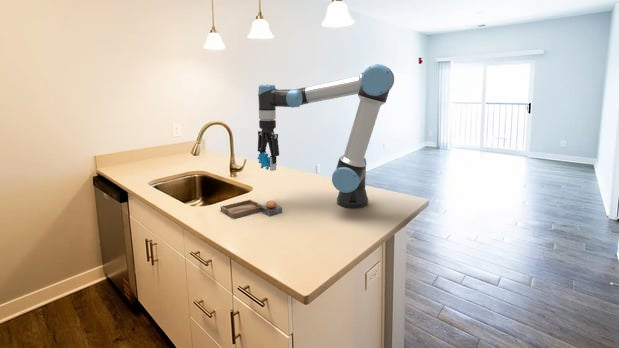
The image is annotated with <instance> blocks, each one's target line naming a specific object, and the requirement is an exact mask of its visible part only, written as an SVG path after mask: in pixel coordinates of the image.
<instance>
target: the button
mask: <svg viewBox="0 0 619 348" xmlns="http://www.w3.org/2000/svg"><path fill="white" fill-rule="evenodd" d="M276 205H277V202H276V201H275V200H269V201H266V202H265V206H266V207H269V208H270V209H271V208H273V207H276Z"/></svg>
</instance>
